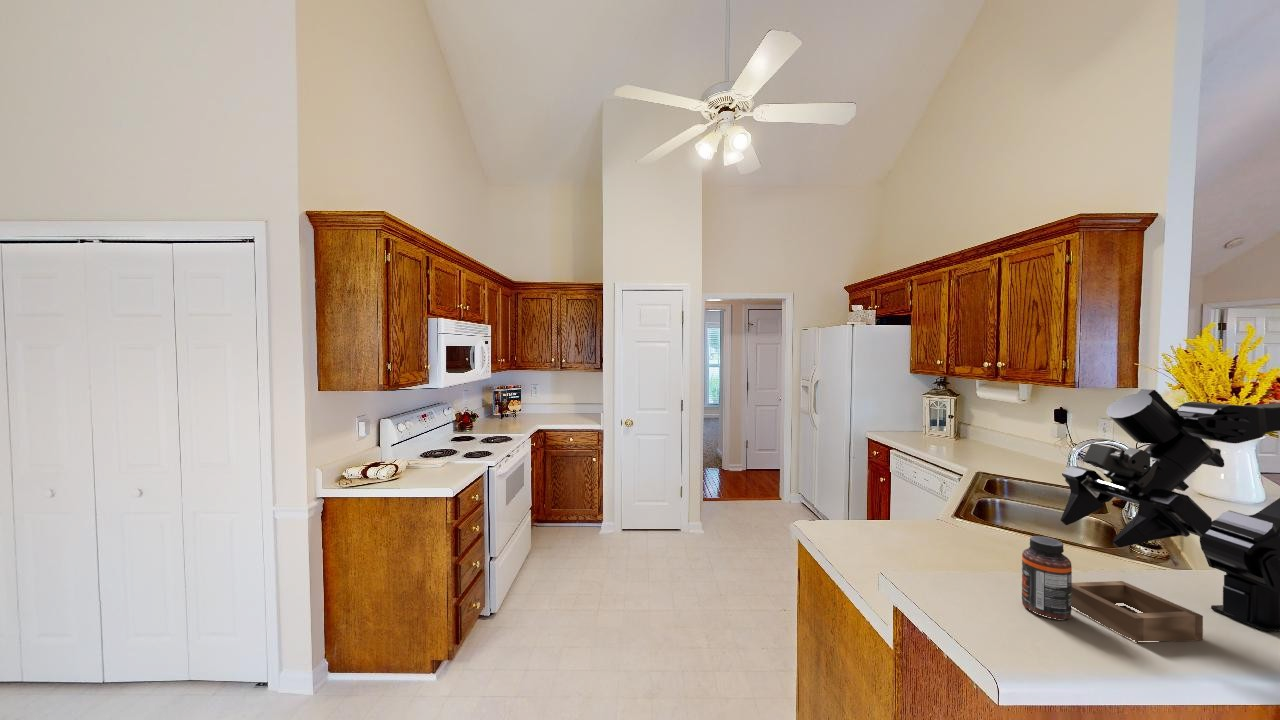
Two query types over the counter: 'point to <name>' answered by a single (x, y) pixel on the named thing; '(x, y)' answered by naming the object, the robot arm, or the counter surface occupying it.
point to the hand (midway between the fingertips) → (1087, 533)
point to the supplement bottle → (1046, 578)
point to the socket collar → (1151, 625)
